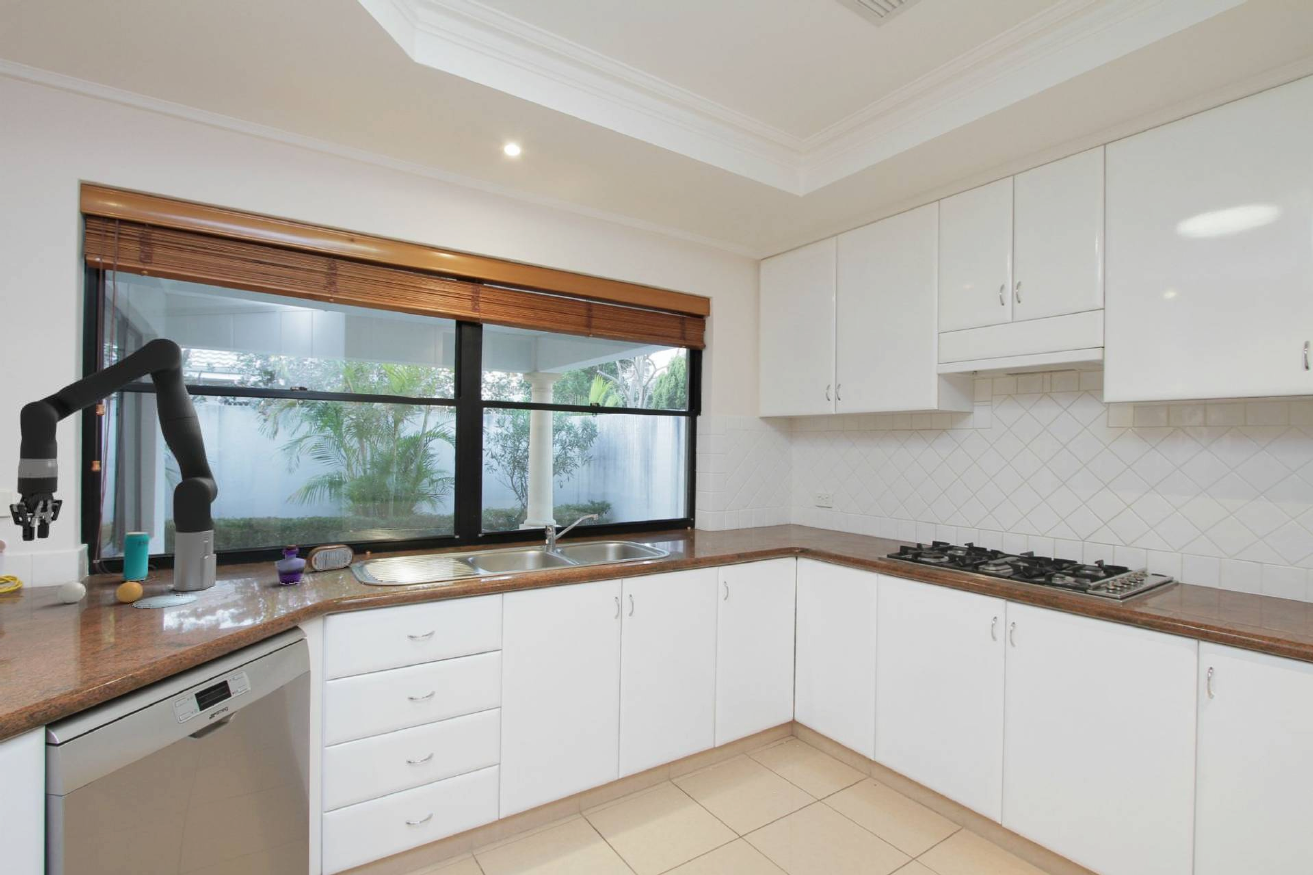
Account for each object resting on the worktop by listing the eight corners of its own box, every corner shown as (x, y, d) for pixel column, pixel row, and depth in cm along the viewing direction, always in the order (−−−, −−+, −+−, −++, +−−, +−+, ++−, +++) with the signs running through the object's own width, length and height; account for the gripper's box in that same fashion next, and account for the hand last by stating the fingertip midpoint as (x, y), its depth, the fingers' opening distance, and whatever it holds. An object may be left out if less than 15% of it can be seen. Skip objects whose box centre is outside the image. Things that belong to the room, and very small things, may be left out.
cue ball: (90, 599, 166) (91, 580, 166) (74, 605, 161) (75, 584, 161) (68, 600, 166) (69, 580, 166) (51, 605, 160) (52, 584, 160)
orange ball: (147, 599, 168) (147, 579, 168) (133, 604, 163) (133, 584, 163) (125, 599, 168) (125, 579, 168) (110, 604, 162) (111, 584, 162)
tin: (351, 566, 218) (351, 542, 218) (355, 567, 216) (355, 544, 216) (306, 572, 206) (306, 547, 207) (309, 573, 204) (310, 549, 205)
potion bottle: (311, 582, 193) (312, 544, 193) (285, 587, 185) (286, 548, 185) (293, 578, 196) (294, 542, 197) (267, 584, 189) (268, 545, 189)
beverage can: (152, 579, 191) (153, 531, 192) (135, 583, 186) (136, 534, 186) (135, 578, 192) (137, 531, 192) (118, 582, 186) (119, 533, 186)
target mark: (208, 594, 175) (208, 594, 175) (177, 608, 161) (177, 607, 161) (154, 595, 173) (154, 594, 173) (118, 609, 159) (118, 608, 159)
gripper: (30, 477, 156) (28, 543, 156) (75, 474, 170) (73, 535, 170) (-3, 476, 155) (-5, 543, 155) (44, 473, 169) (42, 535, 169)
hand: (35, 539), depth 162 cm, fingers open, 3 cm apart
